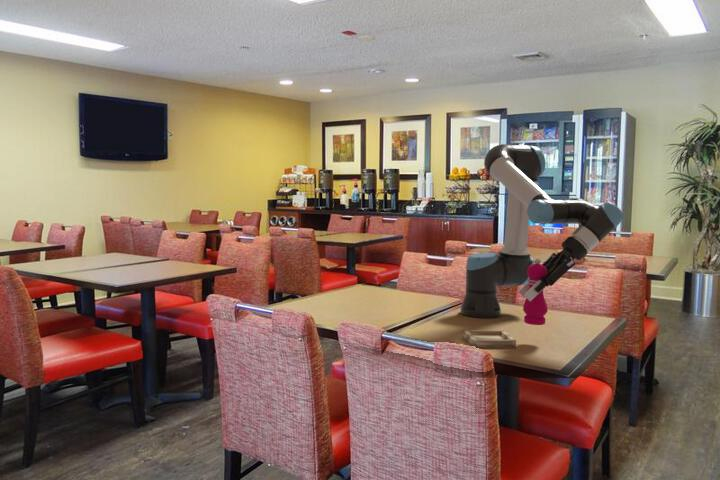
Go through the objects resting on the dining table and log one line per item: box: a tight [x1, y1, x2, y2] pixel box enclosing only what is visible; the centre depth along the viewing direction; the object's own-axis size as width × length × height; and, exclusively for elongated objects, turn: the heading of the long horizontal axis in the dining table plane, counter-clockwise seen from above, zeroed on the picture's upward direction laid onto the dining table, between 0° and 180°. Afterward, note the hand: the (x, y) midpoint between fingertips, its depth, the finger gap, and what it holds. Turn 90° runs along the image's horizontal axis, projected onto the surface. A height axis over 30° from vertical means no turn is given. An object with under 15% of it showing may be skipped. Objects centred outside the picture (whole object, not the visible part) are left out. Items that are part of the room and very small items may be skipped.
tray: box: [462, 329, 517, 349], centre depth 177 cm, size 13×13×2 cm
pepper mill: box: [522, 258, 548, 326], centre depth 176 cm, size 7×7×20 cm
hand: (524, 296), depth 176 cm, fingers closed on pepper mill, 5 cm apart
